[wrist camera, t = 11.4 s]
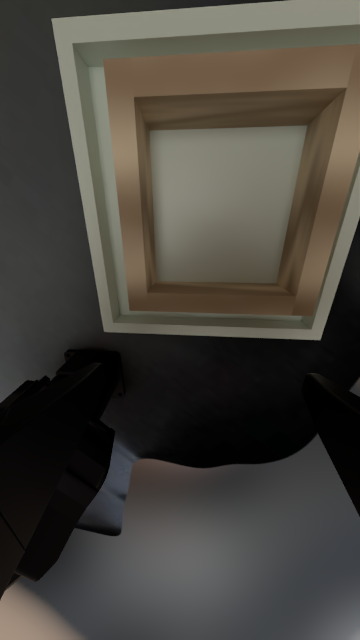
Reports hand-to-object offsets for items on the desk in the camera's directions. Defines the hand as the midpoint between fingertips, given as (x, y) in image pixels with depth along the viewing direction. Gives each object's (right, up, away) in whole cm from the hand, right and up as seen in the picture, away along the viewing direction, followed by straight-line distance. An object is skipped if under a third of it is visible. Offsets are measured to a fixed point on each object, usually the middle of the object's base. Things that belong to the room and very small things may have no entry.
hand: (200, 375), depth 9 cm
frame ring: (+2, +11, +7) cm, 14 cm away
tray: (+2, +11, +8) cm, 14 cm away
